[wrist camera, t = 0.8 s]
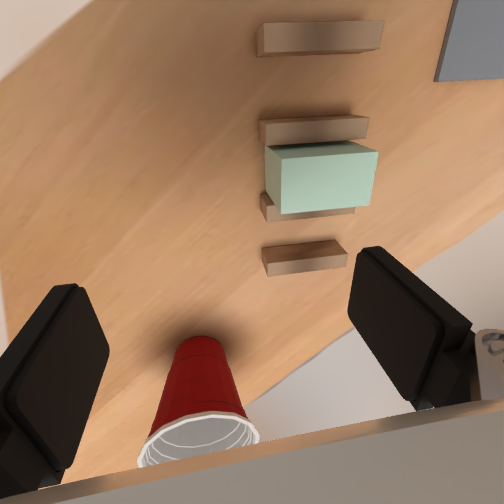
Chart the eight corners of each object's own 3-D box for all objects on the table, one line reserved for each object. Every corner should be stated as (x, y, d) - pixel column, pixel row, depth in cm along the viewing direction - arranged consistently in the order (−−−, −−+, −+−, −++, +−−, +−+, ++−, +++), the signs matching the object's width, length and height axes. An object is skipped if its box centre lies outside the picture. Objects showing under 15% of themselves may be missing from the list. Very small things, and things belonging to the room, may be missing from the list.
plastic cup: (259, 354, 37) (281, 455, 27) (192, 389, 39) (188, 498, 28) (212, 303, 32) (218, 406, 21) (136, 347, 33) (107, 463, 23)
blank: (342, 138, 25) (379, 151, 20) (337, 183, 27) (369, 205, 22) (264, 144, 24) (281, 158, 19) (265, 189, 26) (280, 214, 21)
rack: (361, 28, 21) (384, 20, 18) (333, 252, 31) (346, 266, 28) (255, 31, 20) (263, 22, 17) (261, 260, 30) (267, 276, 27)
